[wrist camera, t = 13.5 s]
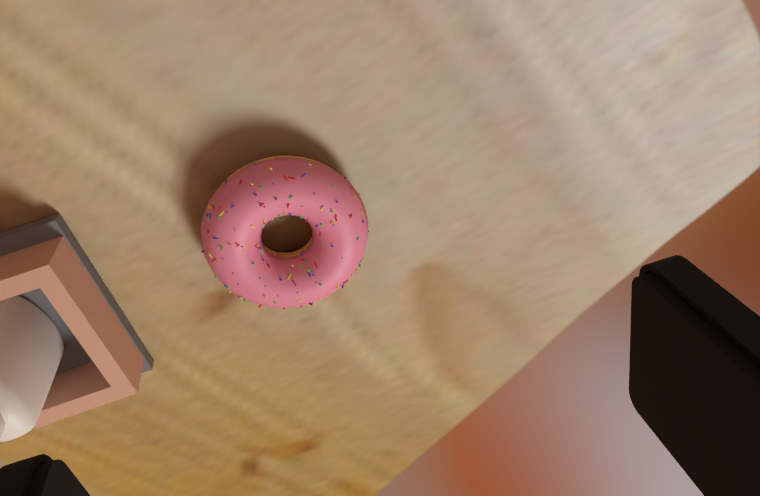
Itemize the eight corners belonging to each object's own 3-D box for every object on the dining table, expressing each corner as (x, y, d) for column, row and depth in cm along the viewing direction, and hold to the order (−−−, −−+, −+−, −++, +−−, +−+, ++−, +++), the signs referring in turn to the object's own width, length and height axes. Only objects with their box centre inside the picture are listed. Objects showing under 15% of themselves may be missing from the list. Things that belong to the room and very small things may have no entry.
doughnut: (367, 145, 39) (381, 169, 36) (358, 284, 45) (368, 316, 41) (196, 145, 37) (192, 171, 33) (207, 291, 42) (205, 327, 39)
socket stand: (-115, 270, 37) (-155, 313, 33) (59, 212, 37) (39, 248, 33) (8, 410, 43) (-13, 459, 40) (153, 360, 44) (146, 403, 40)
